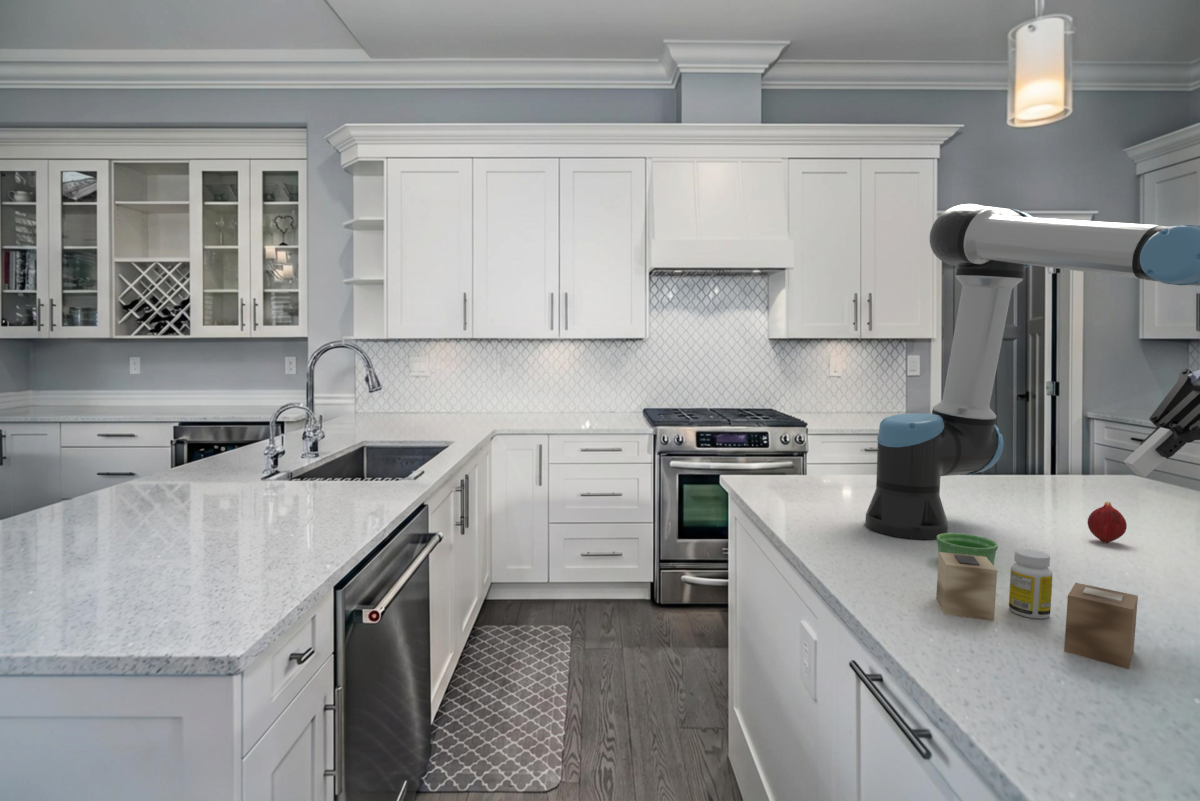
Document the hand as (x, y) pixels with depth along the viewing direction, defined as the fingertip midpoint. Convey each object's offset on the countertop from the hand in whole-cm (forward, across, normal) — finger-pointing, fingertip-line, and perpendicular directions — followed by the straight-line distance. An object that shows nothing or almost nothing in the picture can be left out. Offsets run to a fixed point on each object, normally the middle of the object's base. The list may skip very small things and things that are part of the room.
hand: (1134, 469), depth 86 cm
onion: (+2, +32, -33) cm, 46 cm away
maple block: (+30, -2, +3) cm, 30 cm away
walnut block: (+23, -14, -3) cm, 27 cm away
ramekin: (+24, +17, -6) cm, 30 cm away
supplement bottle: (+24, -3, -3) cm, 24 cm away
